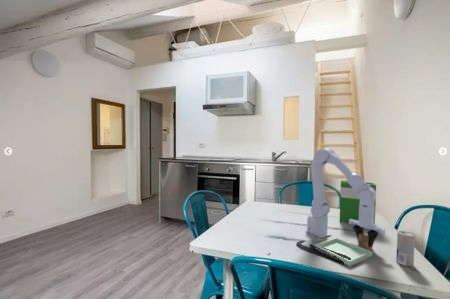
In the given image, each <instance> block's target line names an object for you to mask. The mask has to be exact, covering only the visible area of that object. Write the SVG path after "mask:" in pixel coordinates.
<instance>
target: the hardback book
mask: <svg viewBox="0 0 450 299" xmlns="http://www.w3.org/2000/svg"><path fill="white" fill-rule="evenodd" d="M365 183H366V184H367V185H368V184H369V185H370V187H372V188H374V190H375V192H376V193H377V184H376V183H374V182H366V181H365ZM339 197H340V198H339V223H343V222H345V223H344V224H349V220H350V219H353V220H358V221H359V204H360V199H359V197H358V193H357V192H356V191H355V190H354V189H353V188H352V187H351V185H350V184H349V183H348V182H347V180H340V196H339ZM376 199H377V196H376V197H375V198H374V225H376V222H375V221H376V203H377V201H376Z"/></svg>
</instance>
